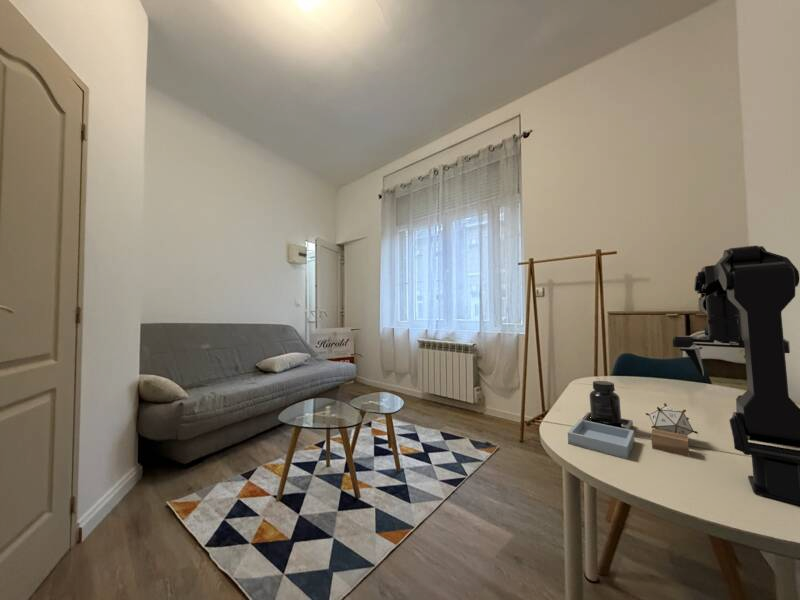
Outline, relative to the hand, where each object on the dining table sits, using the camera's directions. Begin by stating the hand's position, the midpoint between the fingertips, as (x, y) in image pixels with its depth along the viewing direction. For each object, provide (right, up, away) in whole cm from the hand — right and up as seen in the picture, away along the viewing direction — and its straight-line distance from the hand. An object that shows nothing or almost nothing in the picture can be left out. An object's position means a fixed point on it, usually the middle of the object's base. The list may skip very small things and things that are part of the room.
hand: (729, 378), depth 71 cm
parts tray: (-32, -15, -1) cm, 36 cm away
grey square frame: (-25, -15, +8) cm, 30 cm away
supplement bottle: (-25, -16, +8) cm, 30 cm away
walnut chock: (-20, -15, -6) cm, 25 cm away
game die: (-15, -15, -1) cm, 21 cm away
